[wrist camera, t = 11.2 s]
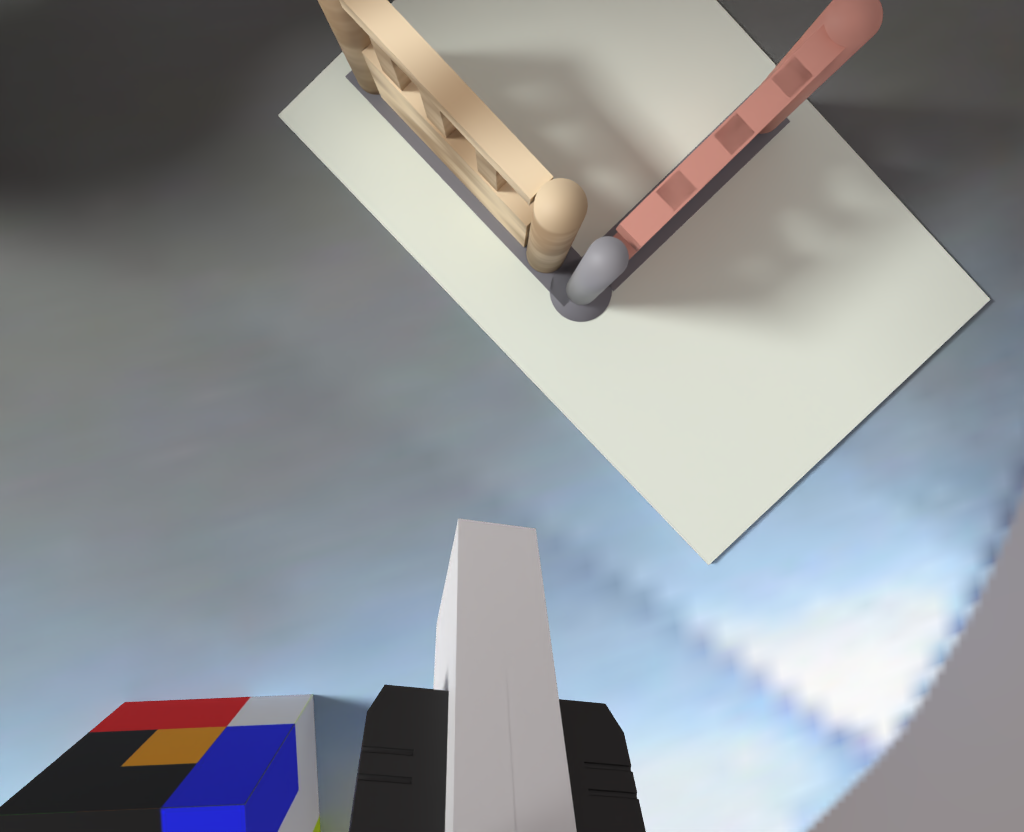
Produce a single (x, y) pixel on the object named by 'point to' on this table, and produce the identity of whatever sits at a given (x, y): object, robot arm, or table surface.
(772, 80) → the hinged fence half
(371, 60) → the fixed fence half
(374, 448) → the table surface
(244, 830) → the puzzle toy
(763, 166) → the card
